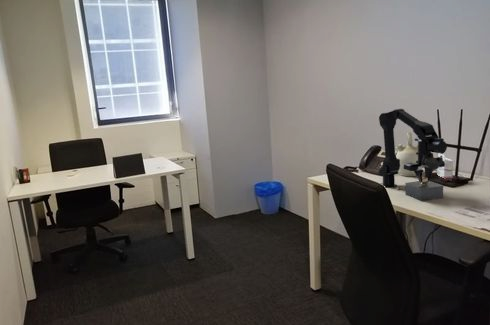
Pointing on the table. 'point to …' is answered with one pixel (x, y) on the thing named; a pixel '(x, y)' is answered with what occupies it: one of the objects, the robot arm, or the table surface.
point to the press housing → (424, 190)
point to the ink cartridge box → (445, 168)
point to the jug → (407, 156)
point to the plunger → (424, 180)
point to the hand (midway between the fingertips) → (423, 182)
